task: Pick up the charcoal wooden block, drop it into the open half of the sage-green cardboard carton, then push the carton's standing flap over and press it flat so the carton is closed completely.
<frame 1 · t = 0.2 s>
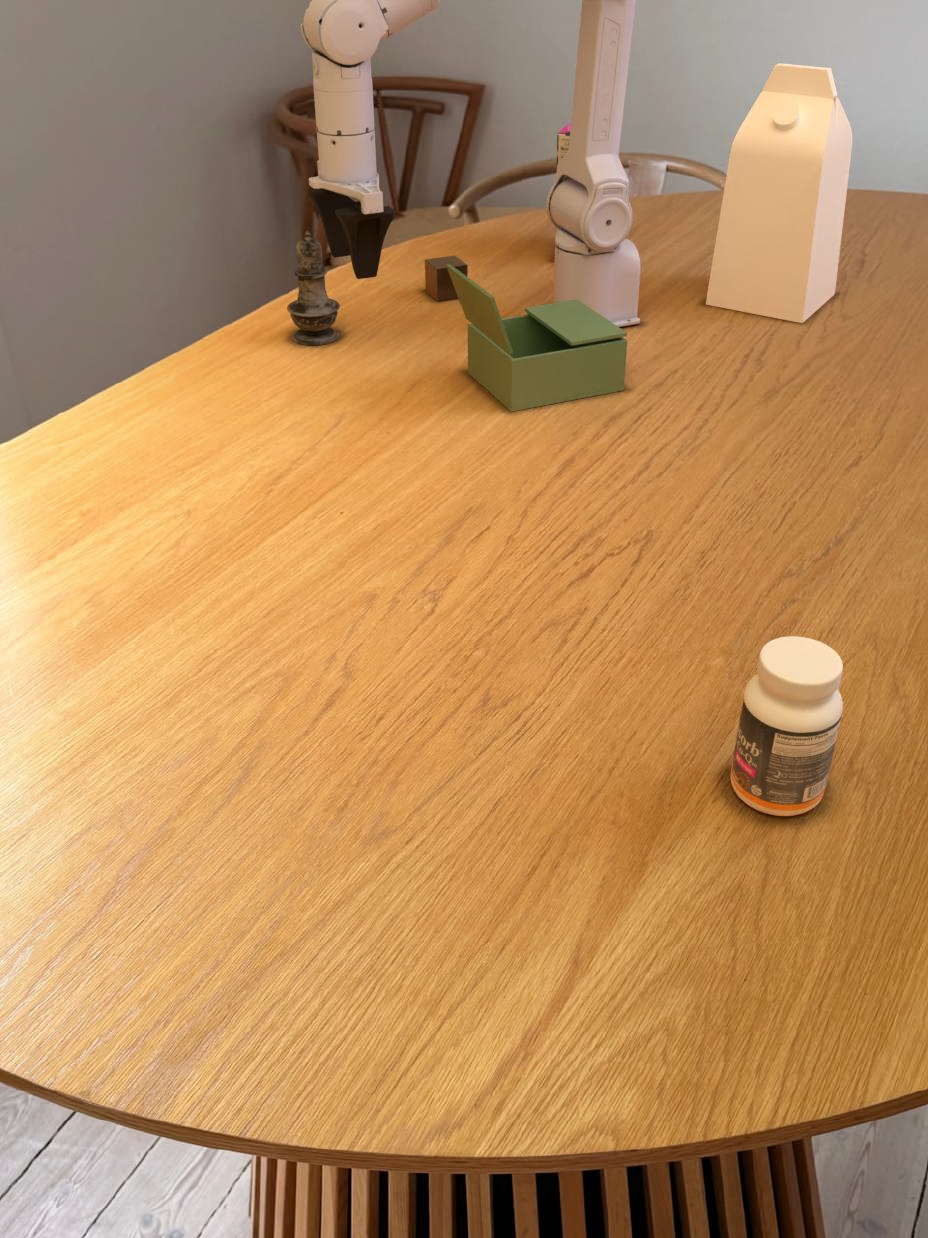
hand: (353, 266, 127), 10 cm above the table, tool pointing down, fingers open, 7 cm apart
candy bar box: (581, 252, 163), on the table
pill bottle: (776, 791, 75), on the table
flap: (479, 308, 119), point 9 cm above the table, hinge at 110.0°
carton: (544, 381, 127), on the table
grey tall tiered piece: (315, 338, 138), on the table
milk: (770, 300, 147), on the table
block: (446, 294, 149), on the table
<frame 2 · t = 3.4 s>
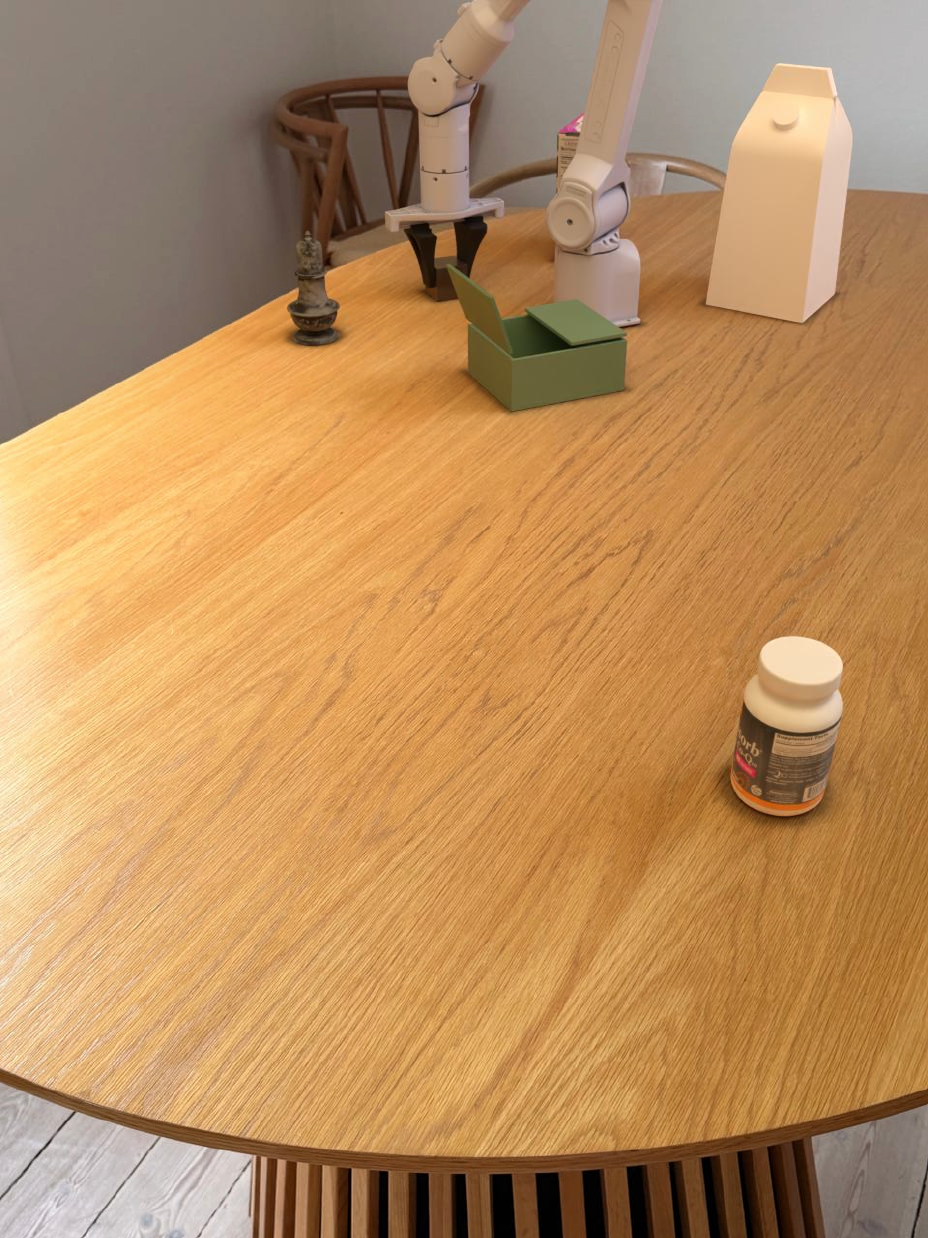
hand: (446, 282, 148), 1 cm above the table, tool pointing down, fingers closed on block, 4 cm apart
block: (446, 294, 149), on the table, touching gripper
everything else where it was.
when the fingers open (6 cm above the table, at t = 10.1 s): block drops 4 cm, resting on carton.
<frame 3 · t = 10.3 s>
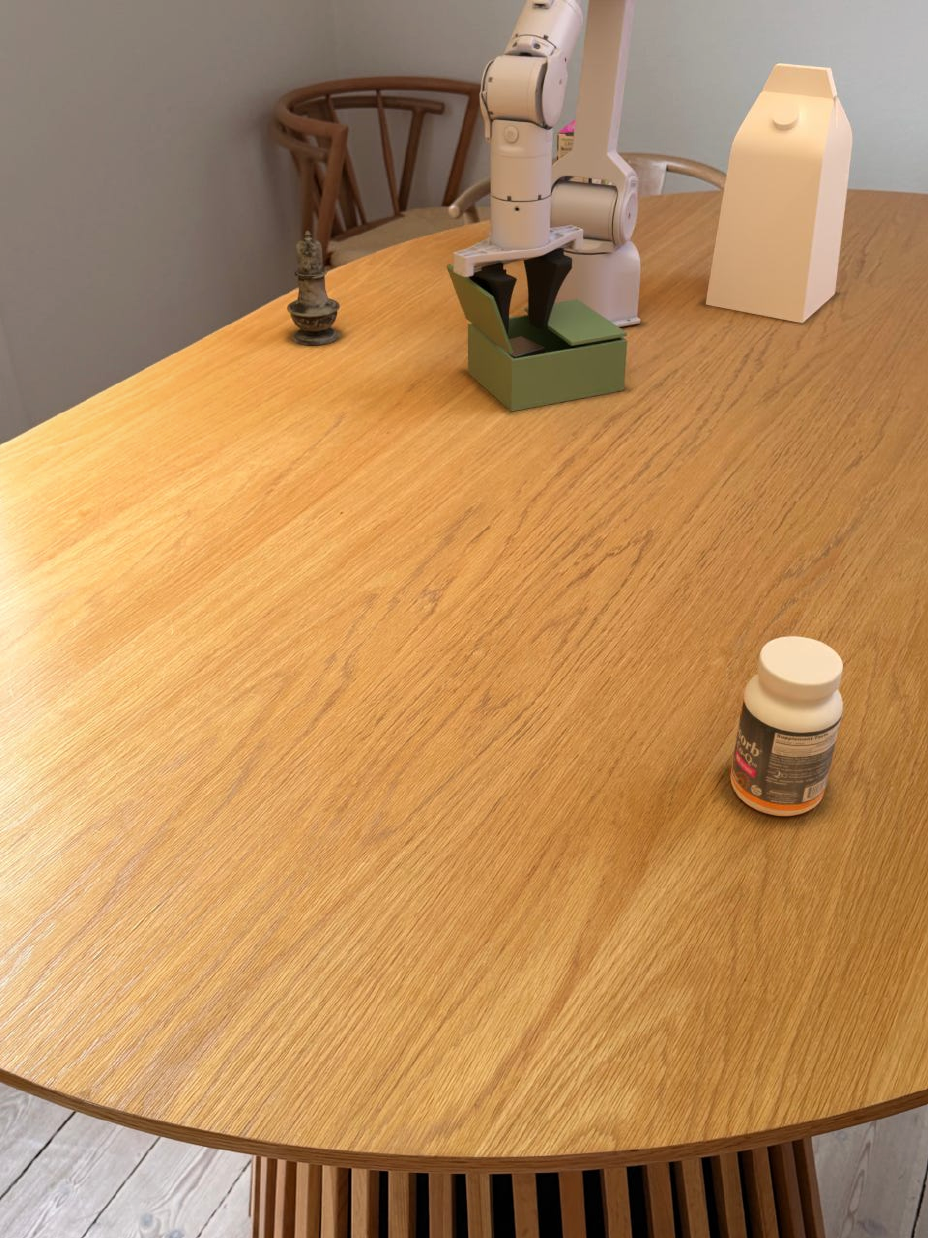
hand: (518, 331, 122), 6 cm above the table, tool pointing down, fingers open, 5 cm apart
flap: (479, 308, 119), point 9 cm above the table, hinge at 110.0°, touching gripper
block: (517, 382, 126), resting on carton
everything else where it was.
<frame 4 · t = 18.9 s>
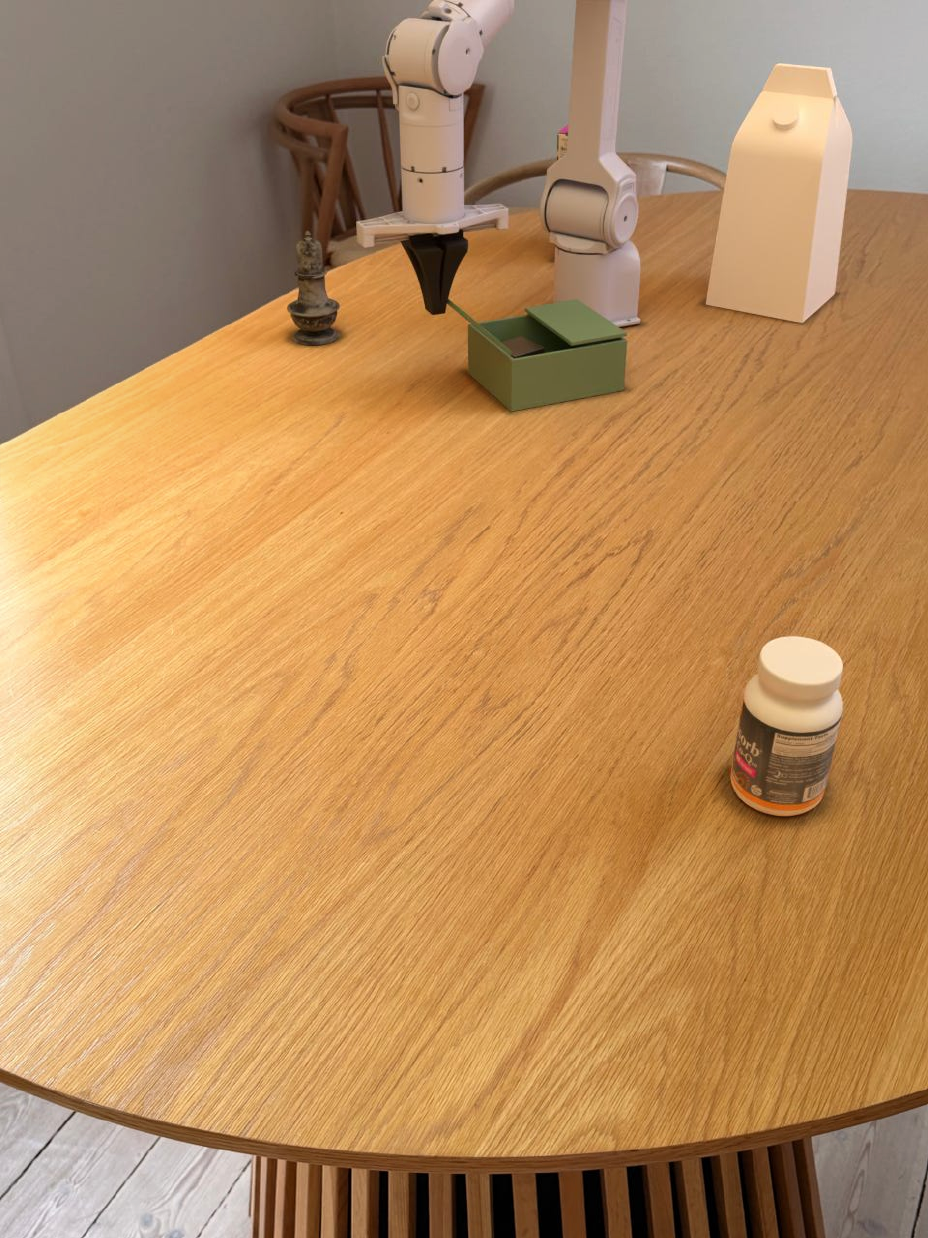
hand: (435, 311, 118), 9 cm above the table, tool pointing down, fingers closed, pressing on flap
flap: (467, 317, 119), point 8 cm above the table, hinge at 136.3°, touching gripper
everything else where it was.
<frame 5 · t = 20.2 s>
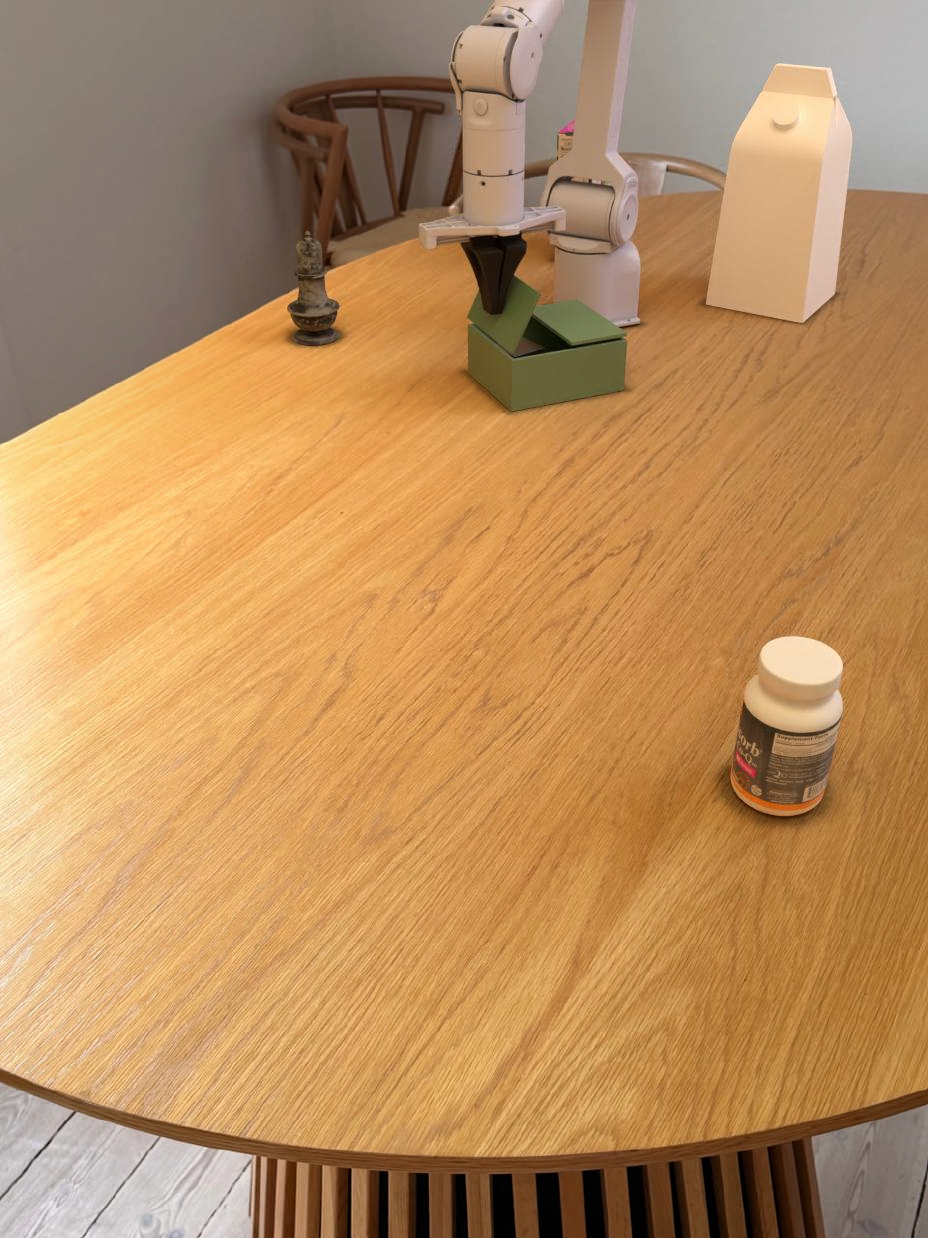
hand: (492, 311, 120), 8 cm above the table, tool pointing down, fingers closed
flap: (502, 305, 120), point 9 cm above the table, hinge at 63.0°, touching gripper
everything else where it was.
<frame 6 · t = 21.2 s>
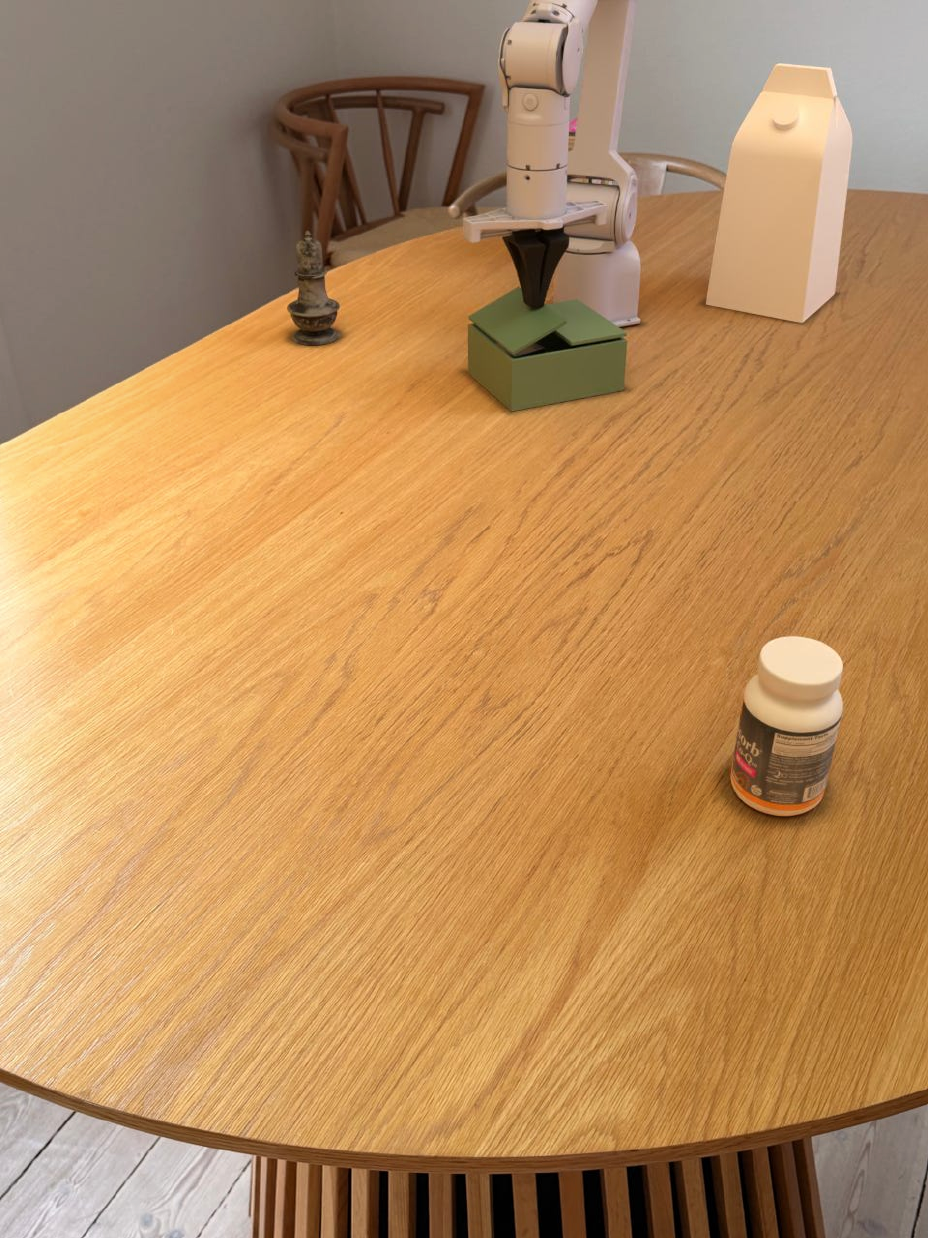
hand: (533, 304, 122), 8 cm above the table, tool pointing down, fingers closed
flap: (516, 319, 122), point 7 cm above the table, hinge at 22.4°, touching gripper
everything else where it was.
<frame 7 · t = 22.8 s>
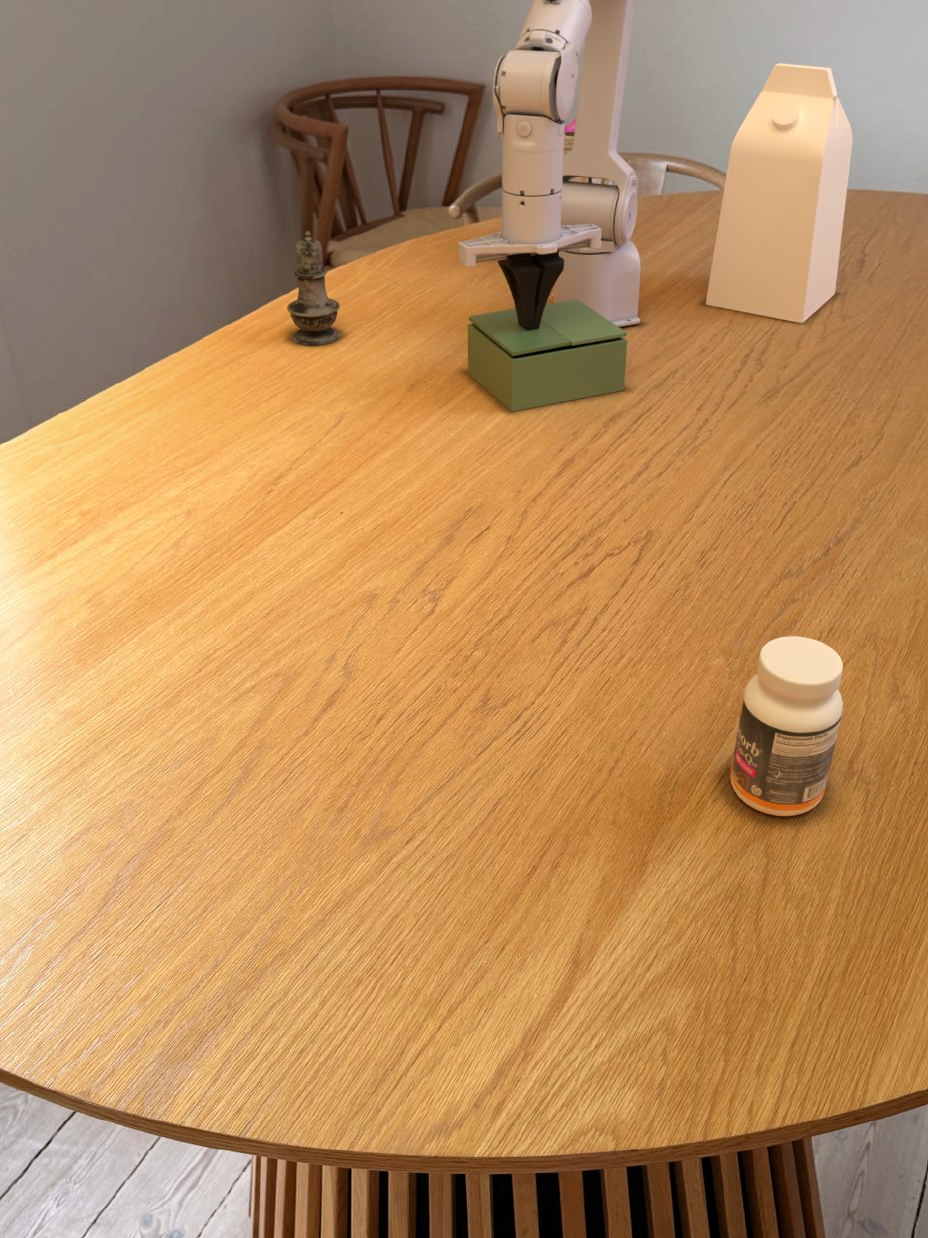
hand: (528, 326, 123), 6 cm above the table, tool pointing down, fingers closed, pressing on flap
flap: (518, 330, 122), point 6 cm above the table, hinge at 0.9°, touching gripper
everything else where it was.
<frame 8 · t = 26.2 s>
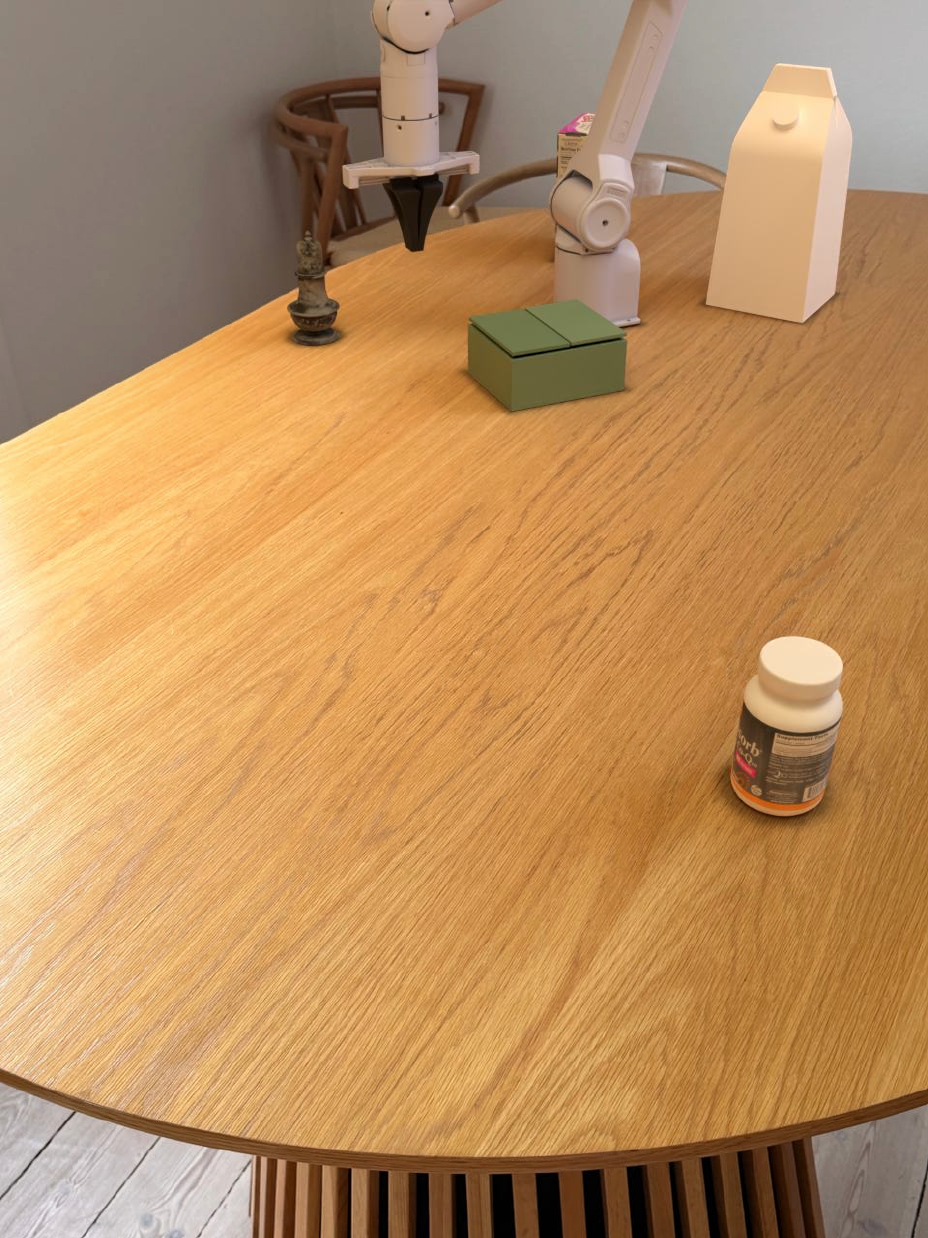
hand: (414, 248, 130), 10 cm above the table, tool pointing down, fingers closed
flap: (518, 331, 122), point 6 cm above the table, hinge at -0.7°
everything else where it was.
at the end: block inside the target area in the carton (3.2 cm from its centre), point 0.4 cm above the carton's base; flap at -1° (first picture: +110°) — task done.
